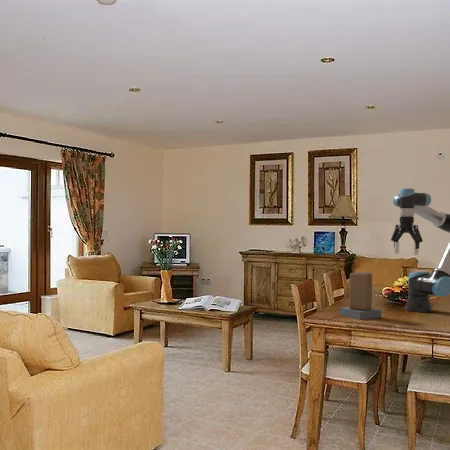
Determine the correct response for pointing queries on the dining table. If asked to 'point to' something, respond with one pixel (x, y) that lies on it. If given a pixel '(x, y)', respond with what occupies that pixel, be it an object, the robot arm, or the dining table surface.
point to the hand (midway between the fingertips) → (406, 254)
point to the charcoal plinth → (360, 313)
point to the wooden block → (360, 291)
